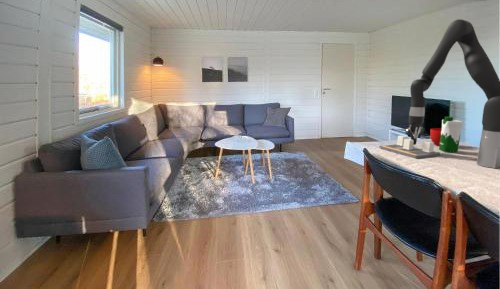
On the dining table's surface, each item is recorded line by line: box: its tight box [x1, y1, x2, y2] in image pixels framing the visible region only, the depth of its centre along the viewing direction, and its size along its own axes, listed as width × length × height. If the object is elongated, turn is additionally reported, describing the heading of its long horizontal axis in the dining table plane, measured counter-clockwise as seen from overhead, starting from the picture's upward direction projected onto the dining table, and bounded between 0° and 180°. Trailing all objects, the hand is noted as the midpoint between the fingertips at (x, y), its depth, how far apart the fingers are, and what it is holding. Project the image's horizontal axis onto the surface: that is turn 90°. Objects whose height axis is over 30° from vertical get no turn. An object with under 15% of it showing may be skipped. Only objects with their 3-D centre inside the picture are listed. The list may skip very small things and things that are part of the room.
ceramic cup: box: [429, 127, 442, 147], centre depth 185 cm, size 13×17×10 cm
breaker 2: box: [422, 140, 435, 153], centre depth 162 cm, size 4×4×6 cm
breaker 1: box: [395, 135, 408, 146], centre depth 179 cm, size 4×4×6 cm
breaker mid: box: [402, 138, 414, 150], centre depth 169 cm, size 4×4×6 cm
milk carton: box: [438, 116, 464, 154], centre depth 169 cm, size 9×9×20 cm
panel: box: [379, 143, 442, 160], centre depth 170 cm, size 26×18×2 cm
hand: (413, 144), depth 170 cm, fingers closed
